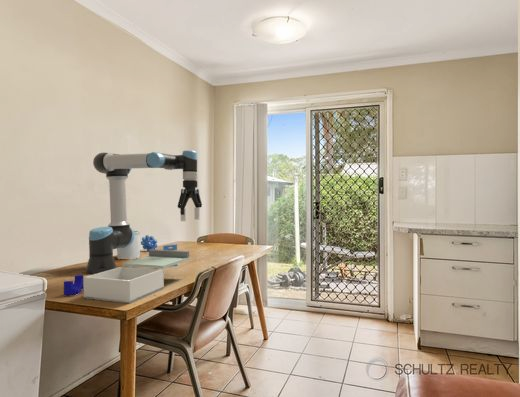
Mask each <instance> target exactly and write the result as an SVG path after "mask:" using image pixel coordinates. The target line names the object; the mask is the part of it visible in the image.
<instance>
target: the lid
mask: <svg viewBox="0 0 520 397" xmlns="http://www.w3.org/2000/svg"><path fill="white" fill-rule="evenodd" d="M189 260H190V250H177V251H173V250H163V249H155V250H152V249H151V250H149V251H148V256H145V257H144V256H143V257H141V258H140V257H139V258H137V259H131V260H128V261H125V262H122V263H121V267H136V268H151V269H163V270H165V269H166V268H170V267H174V266H173V265H176V264H177V265H178V264H180V263H184V262H187V261H189Z"/></svg>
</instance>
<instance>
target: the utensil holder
mask: <svg viewBox="0 0 520 397" xmlns="http://www.w3.org/2000/svg"><path fill="white" fill-rule="evenodd" d="M132 230H133V229H132ZM133 231H134V240H133V242H132V243H131V244H130V245H129V246H127V247H124V248H117V249H116V254H117V255H116V256H117V260H120V259H131V260H136V258H137V259H140V256H141V255H140V254H141V230H138V229H136V230H135V229H134V230H133Z"/></svg>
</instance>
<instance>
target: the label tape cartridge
mask: <svg viewBox="0 0 520 397" xmlns="http://www.w3.org/2000/svg"><path fill="white" fill-rule="evenodd" d="M162 248H163V249H162V250H173V251H178V243H177V244H169V245H168V244H167V245H163V246H162ZM176 266H178V264H176V265H173V266H172V267H176Z"/></svg>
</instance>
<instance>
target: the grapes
mask: <svg viewBox="0 0 520 397" xmlns="http://www.w3.org/2000/svg"><path fill="white" fill-rule="evenodd" d="M157 243H158V240H157V239H155V237H154V236H152V235H151V236H149V235H148V234H147V235H145V236H143V237H142V238H141V240H140V246H141V245H142V249H144V250H146V251H147V252H149V250H151V249H152V250H156V248H158V244H157Z"/></svg>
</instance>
